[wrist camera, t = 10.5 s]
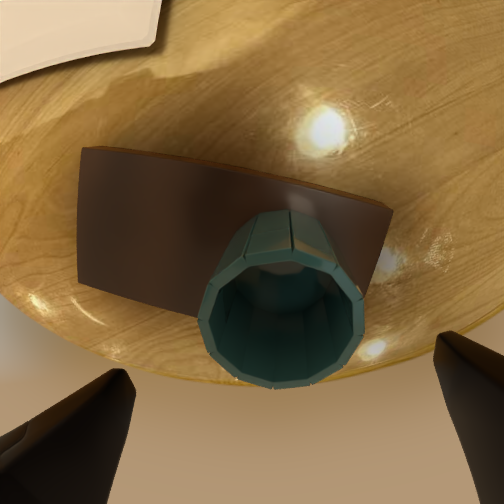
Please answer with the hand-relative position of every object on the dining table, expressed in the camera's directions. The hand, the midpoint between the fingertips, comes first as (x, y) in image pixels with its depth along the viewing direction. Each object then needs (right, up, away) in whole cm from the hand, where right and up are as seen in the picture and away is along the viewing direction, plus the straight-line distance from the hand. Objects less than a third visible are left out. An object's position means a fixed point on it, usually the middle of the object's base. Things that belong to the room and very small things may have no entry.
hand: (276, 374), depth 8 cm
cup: (+1, +3, +7) cm, 8 cm away
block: (-2, +4, +9) cm, 10 cm away
